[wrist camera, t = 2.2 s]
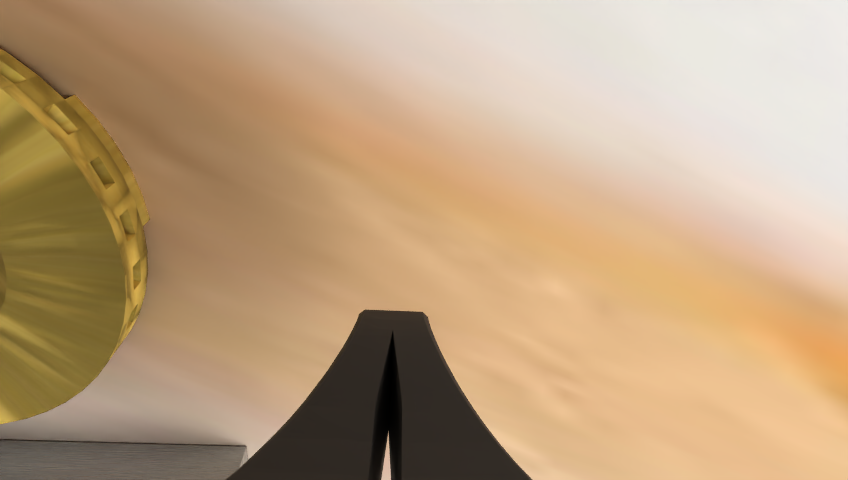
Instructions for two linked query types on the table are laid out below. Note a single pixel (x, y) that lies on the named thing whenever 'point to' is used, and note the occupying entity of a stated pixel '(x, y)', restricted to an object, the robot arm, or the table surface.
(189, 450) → the bay
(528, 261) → the table surface
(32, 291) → the gold round shallow dish
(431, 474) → the robot arm
